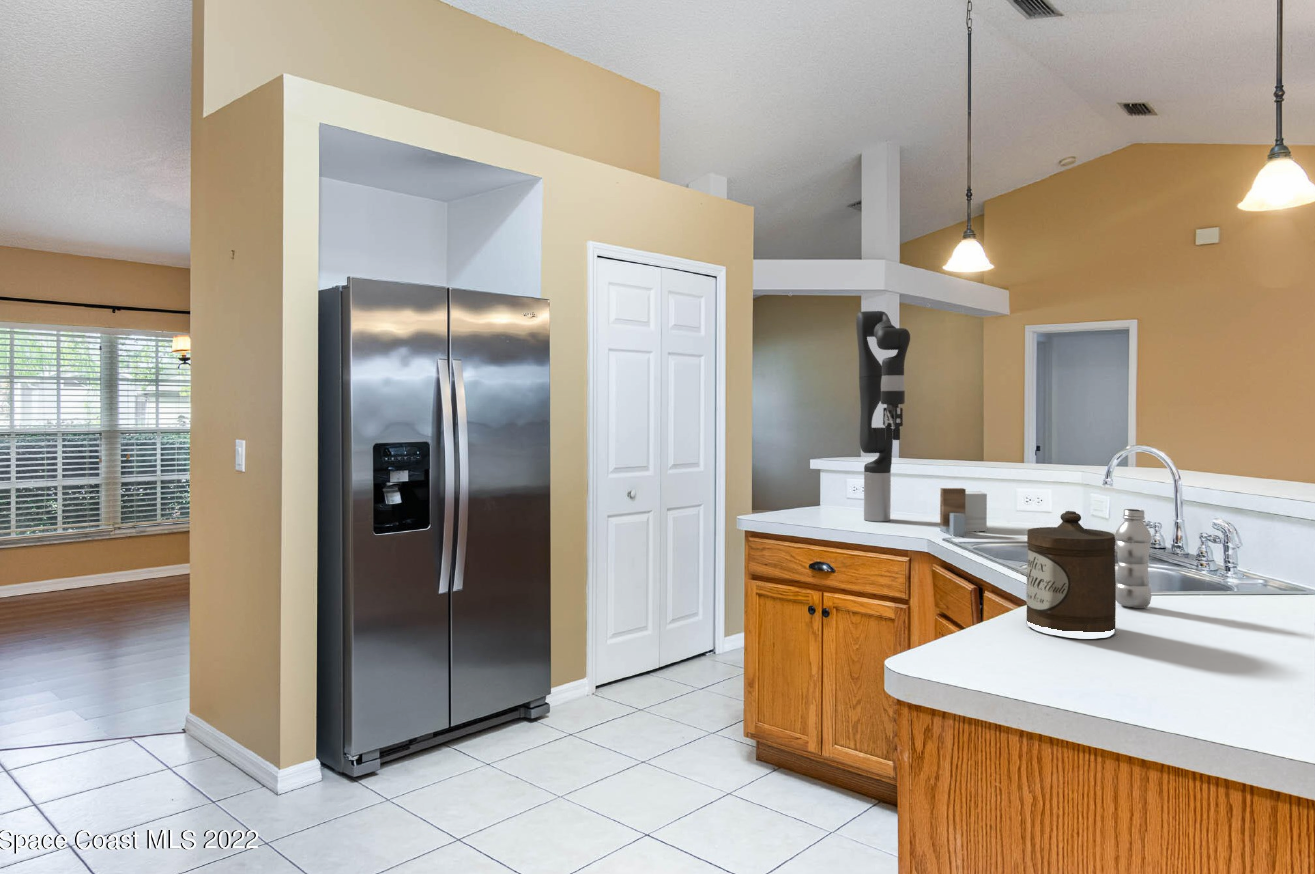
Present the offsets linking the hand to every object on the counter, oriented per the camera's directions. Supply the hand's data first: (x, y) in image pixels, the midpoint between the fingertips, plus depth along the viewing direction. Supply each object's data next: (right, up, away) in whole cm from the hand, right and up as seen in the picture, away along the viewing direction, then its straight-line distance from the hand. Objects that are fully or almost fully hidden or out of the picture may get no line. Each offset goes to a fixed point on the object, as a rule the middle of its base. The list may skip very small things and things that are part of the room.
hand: (892, 439), depth 270 cm
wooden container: (0, -35, -116) cm, 121 cm away
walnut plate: (+18, -28, -4) cm, 33 cm away
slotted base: (+18, -30, -4) cm, 35 cm away
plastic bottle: (+21, -34, -100) cm, 108 cm away
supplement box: (+27, -30, +3) cm, 41 cm away
